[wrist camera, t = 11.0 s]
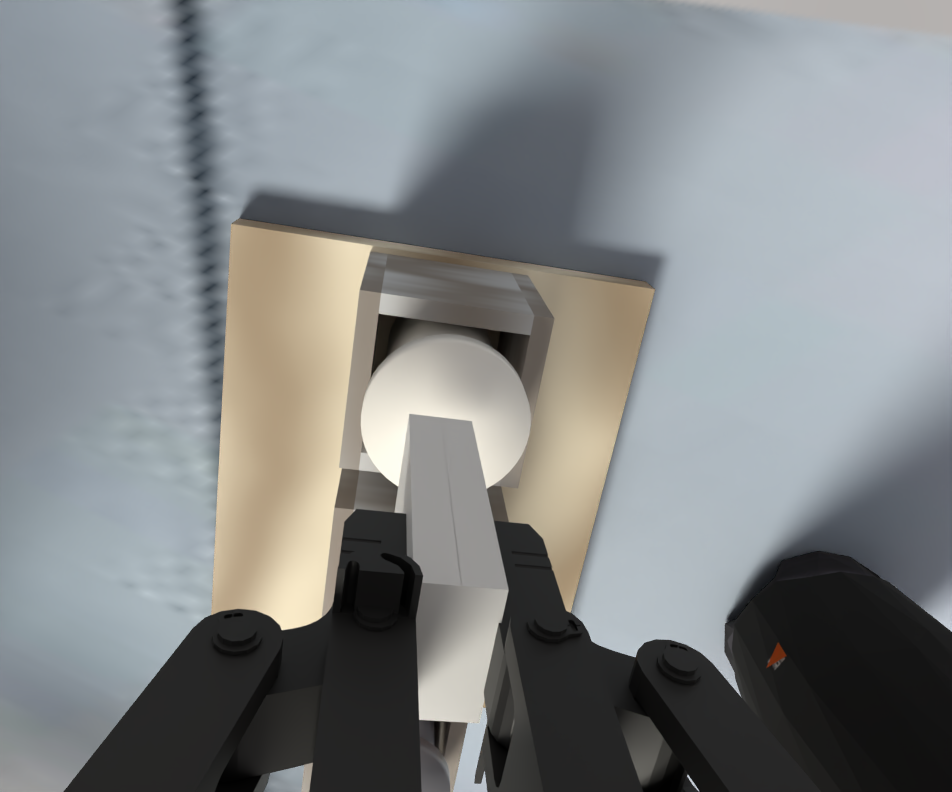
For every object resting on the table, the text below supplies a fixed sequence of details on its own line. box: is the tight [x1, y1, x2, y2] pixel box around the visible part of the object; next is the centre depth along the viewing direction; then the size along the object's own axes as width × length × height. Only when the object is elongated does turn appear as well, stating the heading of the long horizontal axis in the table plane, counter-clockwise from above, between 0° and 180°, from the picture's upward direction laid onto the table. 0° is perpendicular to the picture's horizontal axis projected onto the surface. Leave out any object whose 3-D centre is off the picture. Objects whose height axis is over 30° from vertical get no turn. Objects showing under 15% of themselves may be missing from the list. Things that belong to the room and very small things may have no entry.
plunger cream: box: [361, 316, 531, 488], centre depth 23 cm, size 5×5×7 cm
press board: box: [211, 218, 655, 792], centre depth 28 cm, size 15×20×7 cm
